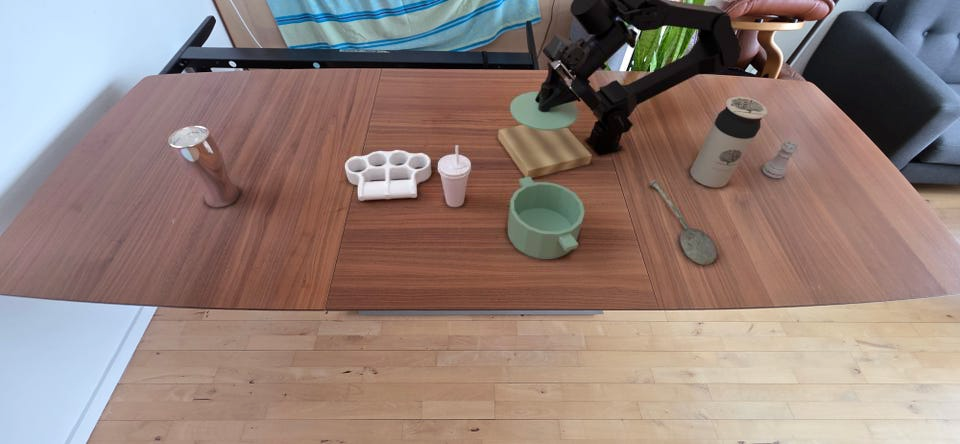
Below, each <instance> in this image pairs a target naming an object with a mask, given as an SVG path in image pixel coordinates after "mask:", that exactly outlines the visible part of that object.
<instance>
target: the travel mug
mask: <svg viewBox="0 0 960 444" xmlns="http://www.w3.org/2000/svg"><path fill="white" fill-rule="evenodd" d="M767 115H768V109H767V107H766V106H765V105H764V104H763V103H762V102H760V101H758V100H756V99H753V98H751V97H747V96H731V97H729V98H727V100H726V101H725V108H724V109H722V110H721V111H720V112H719V113H718V114H717V116H716V118H715V120H714V122H713V124H712V126H711V128H710V129H709V132H708V134H707V136H706V137H705V140H704V142H703V144H702V146H701V148H700V150H699V152H698V153H697V155H696V157H695V160H694V161H693V163H692V165H691V168H690V171H689V173H690V175H691V177H692V178H693V180H695V181H696V182H697V183H699V184H701V185H703V186H706V187H709V188H722V187H724V186H727V184H728V182H729V181H730V179H731V177H732V176H733V174H734V173H735V171H736V169H737V167H738V165H739V164H740V163H741V160H742V159H743V158H744V156H745V154H746V153H747V151H748V150H749V147H750V146H751V144H752V143H753V141H754V139H755V138H756V136H757V134H758V132H759V131H760V129H761V127H762V126H761V125H762V123H761V120H762V119H763V118H765V117H766V116H767Z"/></svg>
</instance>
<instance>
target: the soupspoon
mask: <svg viewBox="0 0 960 444" xmlns="http://www.w3.org/2000/svg"><path fill="white" fill-rule="evenodd" d="M649 185H650V187H651V188H655V189H656V190H657V192H658V193H659V194H660V195H661V196H662V198H663V199H664V200H665V202H666V203H667V205H668V206H669V207H670V209H671V210H672V212H673V213H674V214H675V215H676V217H677V218H678V220H679V222H680V223H681V225H682V226H683V230H682V231H681V232H680V245H681V247H682V249H683V252H684V253H685V255H686V257H688V258H689V259H690V260H691V261H692V262H694V263H696V264H698V265H701V266H708V265H711V264H713V263H714V262H715V261H716V259H717V257H718V249H717V246H716V243H715V241H714V240H713V238H712V237H711V236H710V235H709V234H707V233H706V232H704V231H703V230H702V229H701V230H700V229H698V228H694V227H690V225H689V223H688V222H687V221H686V219H685V218H684V217H683V215H682V214H681V213H680V211H679V209H678V208H677V207H676V206H675V204H674V203H673V202H672V201H671V200H670V198H669V197H668V196H667V194H666V193H665V192H664V191H663V188H661V186H660V185H659V180H656V179H655V180H652V181H651V182H650V183H649Z"/></svg>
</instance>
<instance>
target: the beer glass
mask: <svg viewBox="0 0 960 444" xmlns="http://www.w3.org/2000/svg"><path fill="white" fill-rule="evenodd" d="M167 143H168V144H169V146H170V148H171V150H172V152H173V154H174V156H175V158H176V160H177V162H178V163H179V165H180V166H181V168H182V169H183V171H184V172H185V173H186V174H187V175H188V176H189V177H190V178H191V179H192V181H193V182H195V183H196V185H197V186H198V187H199V189H200V190H201V192H202V194H203V197H204V200H205V203H206V204H207V205H208V206H209V207H212V208H223V207H227V206H229V205H231V204H233V203H234V202H235V201H237V199H238V198H239V195H240V192H239V189H238V188H237V187H236V186H235V185H234V183H233V182H232V180H231V179H230V176H229V173H228V170H227V167H226V162H225V158H224V157H223V153H222V151H221V149H220V146H218V143H217V142H216V141H215V139H214V137H213V136H212V133H210V130H209V129H208V128H207V127H205V126H203V125H190V126H184V127H182V128H179V129H177V130H175V131H174V132H172V133H171V134H170V135H169V137H168V139H167Z"/></svg>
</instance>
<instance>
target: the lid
mask: <svg viewBox="0 0 960 444" xmlns="http://www.w3.org/2000/svg"><path fill="white" fill-rule="evenodd" d="M540 89H541V91H540V90H536V91H529V92H524V93H521V94H520V95H518V96H516V97H514V99H513V100H512V101H511V102H510V106H509V112H510V115H511V116H512V118H513V119H514V120H515V121H517V123H519V124H520V125H525V126H527V127H529V128H533V129H537V130H545V131H553V130H560V129H564V128H568V127H570V126H572V125H573V124H575V123H576V121H578V118H579V109H578V106H577V105H576V104H575V102H570V103H565V104H562V105H559V106H556V107H553V108H550V109H547V110H544V111H543V110H542V109H541V108H540V106H541V105H542V104H543V102H544V101H545V100H546V99H547V98H548V97H549V96H550V95H551V94H552V93H553V91H554V84H553V83H551V82H545V81H543V82H542V83H541V85H540ZM539 91H540V98H539V103H537V102H536V101H535V99H536V97H537V95H538V93H539Z"/></svg>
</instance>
